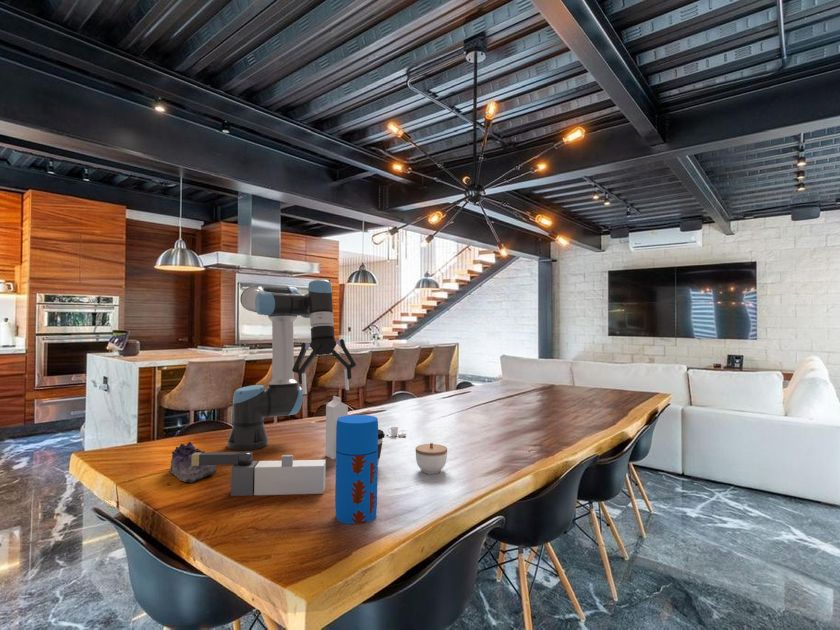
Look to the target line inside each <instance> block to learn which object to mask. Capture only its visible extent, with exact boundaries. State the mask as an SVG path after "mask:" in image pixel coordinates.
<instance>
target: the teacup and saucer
mask: <svg viewBox="0 0 840 630" xmlns="http://www.w3.org/2000/svg"><path fill="white" fill-rule="evenodd" d="M388 434H391V435H390V436H392V437H393V436H396V437H399V436H400V437H401V438H403V437H406V436H407V432H399V427H398V426H391V427H389V428H388Z"/></svg>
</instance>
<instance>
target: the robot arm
mask: <svg viewBox="0 0 840 630" xmlns="http://www.w3.org/2000/svg"><path fill="white" fill-rule="evenodd" d="M307 291H308V293H307V294H306V293H300V290H299V289H298V288H297V287H295V286H288V285H270V284H269V285H268V284H256V285H252V286H249V287H247V288H245V289H244V290H243V291H242V292H241V293H240V300H239V301H240V304H241V306H242V307H243V309H245V310H247V311H250V312H251V313H252V312H253V313H256V314H257V315H260V316H268V319H269V320H270V321H271V324H272V325H271V327H272V328H271V330H272V332H271V333H272V337H271V338H272V339H271V340H272V341H271V342H272V345H271V347H272V348H271V349H272V350H271V351H272V355H271V357H272V360H271V361H272V364H271V365H272V366H271V367H272V379H271V381H269V383H268V388H266V387H265V385H263V384H257V385H254V384H253V385H247V386H243V387H242V386H241V387H240V388H237V389H236V390H234V391H233V397H232V428H231V431H230V435H229V437H228V439H227V448H228V449H229V450H232V451H233V450H234V451H250V450H252V451H253V450H257V449H261V448H265V447H267V446H268V444H269V437H268V434H267V431H266V427H265V424H264V423H265V422H264V420H265V418H273V417H275V418H276V417H284V416H285V417H288V416H291V415H296V414H298V413H299V412H300V410H301V408H302V405H303V398H304V396H303V395H307V394H308V390H307V373H305V372H306V370H307V369H308V367H309V366H310V365H311V364H312V362H313V360H314V359H315V358H316V357H317V356H320V357H321V356H329V355H331V354H332V355H333V356H334V357H335V358H336V359H337V360H338V361H339V362H340V363H341V364H342V365H343V366H344V368H345V369H343V370H344V384H345V387H344V388H345V391H350V383H349V382H350V381H349V380H352V369H354V368H356V367H357V363H356V362H355V359H354V358H353V356H352V354H351V353H350V351H349V350H348V348H347V346H346V341H345V340H344V339H343V338H341V339H338V340H336V339H335V327H334V325H335V324H334V323H335V322H334V321H335V320H334V309H333V308H334V307H333V290H332V283H331V282H330V281H328V280H326V279H316V280H311V281H309V283H308V287H307ZM299 316H300V317H302V318H304V319H309V322H310V325H309V326H310V327H311V328H310V338H311V340H310V343H309V342H307V343H306V342H302V343H301V344H300V346H301V347H300V350H299V353H298V356H297V358H296V360H295V361H294V359H295V358H294V357H295V356H294V355H295V354H294V349H295V348H294V347H295V346H294V345H295V344H294V340H295V339H294V338H295V337H294V321H295V320H296V319H298V317H299ZM336 346H338V347H340V348H341V349H342V350H343V353H344V354H345V356H346V358H347V359H348V362H349V363H348V362H347V361H346V360H345V359H344V358H343V357H342V356H341V355H340V353H338V352H337V351H336V350H335V349H336ZM309 348H311V349H312V351H311V353H310V354H309V356H308V357H307V358H306V359H305V360H304V357H305V355H306V353H307V351H308V350H309ZM303 360H304V362H303ZM302 363H303V364H302ZM295 373H297V374H298V375H297V376H298V381H297V379H295ZM300 385H302V387H301V386H300Z"/></svg>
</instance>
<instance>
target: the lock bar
mask: <svg viewBox="0 0 840 630" xmlns="http://www.w3.org/2000/svg"><path fill="white" fill-rule="evenodd" d="M252 461H253V451H250V450H242V451H226V452H225V451H221V452H220V451H217V452H216V451H214V452H205V453H202V452H197V453H194V454H192V466H199V465H216V466H233V465H250V464H252Z"/></svg>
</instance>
